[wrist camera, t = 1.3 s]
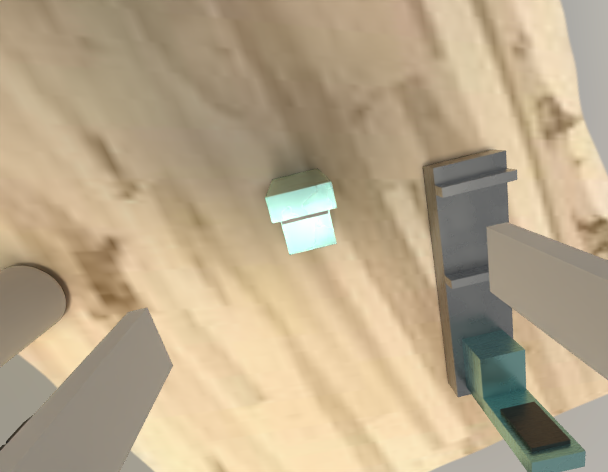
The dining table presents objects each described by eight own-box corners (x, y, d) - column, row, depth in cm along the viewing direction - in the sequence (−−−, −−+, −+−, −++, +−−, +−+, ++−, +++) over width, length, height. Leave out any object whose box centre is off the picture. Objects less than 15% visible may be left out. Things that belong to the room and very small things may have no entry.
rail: (422, 166, 27) (507, 182, 17) (490, 149, 27) (619, 155, 16) (448, 382, 34) (519, 490, 24) (502, 370, 34) (597, 472, 24)
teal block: (272, 179, 27) (264, 198, 18) (317, 168, 27) (331, 181, 18) (289, 243, 29) (290, 287, 20) (331, 233, 29) (350, 273, 20)
